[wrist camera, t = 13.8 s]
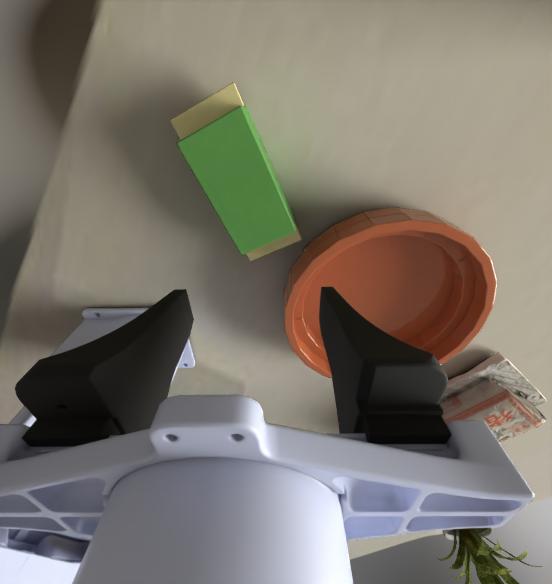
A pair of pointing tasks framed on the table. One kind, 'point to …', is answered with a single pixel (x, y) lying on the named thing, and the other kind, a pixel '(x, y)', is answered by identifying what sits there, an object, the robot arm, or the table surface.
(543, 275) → the table surface
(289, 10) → the table surface
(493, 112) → the table surface
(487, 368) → the packaged product
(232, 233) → the eraser with green sleeve
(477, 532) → the house plant
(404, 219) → the bowl
